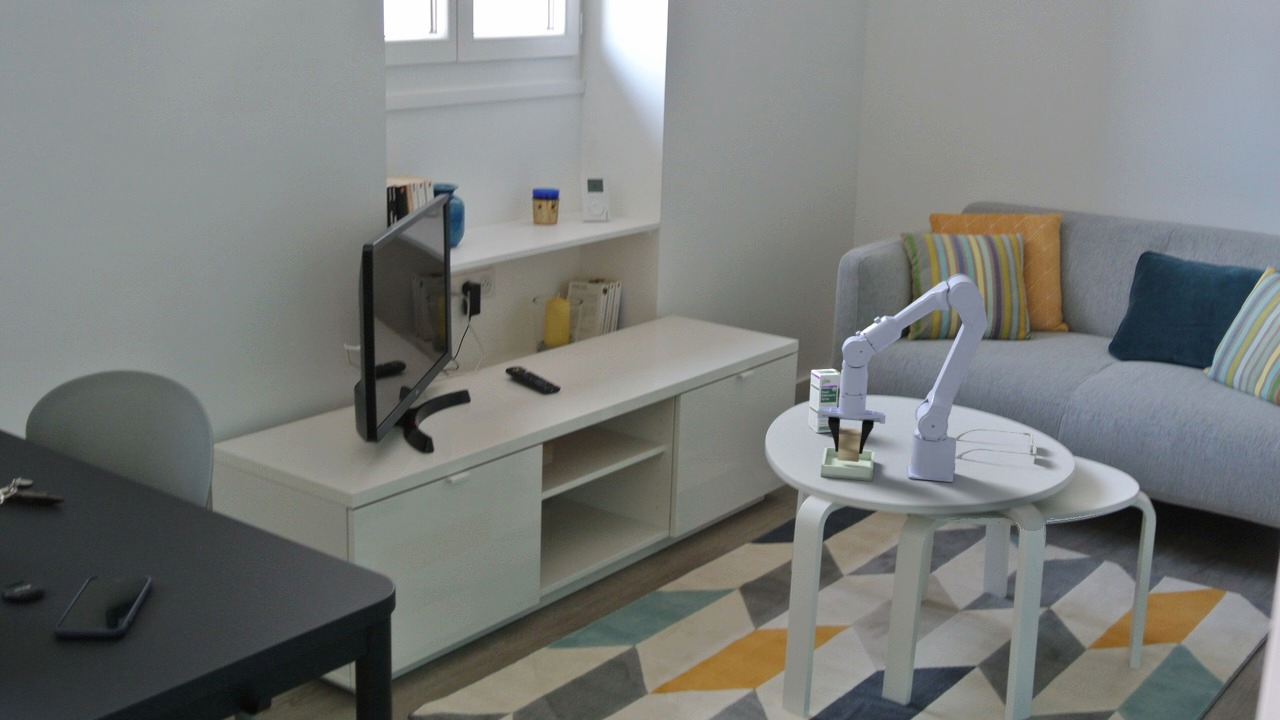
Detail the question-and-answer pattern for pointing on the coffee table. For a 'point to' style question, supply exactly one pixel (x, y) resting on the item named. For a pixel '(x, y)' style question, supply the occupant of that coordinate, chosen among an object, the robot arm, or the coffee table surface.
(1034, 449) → the eyeglasses
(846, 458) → the maple block
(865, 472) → the serving tray
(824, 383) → the syrup box
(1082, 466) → the coffee table surface
